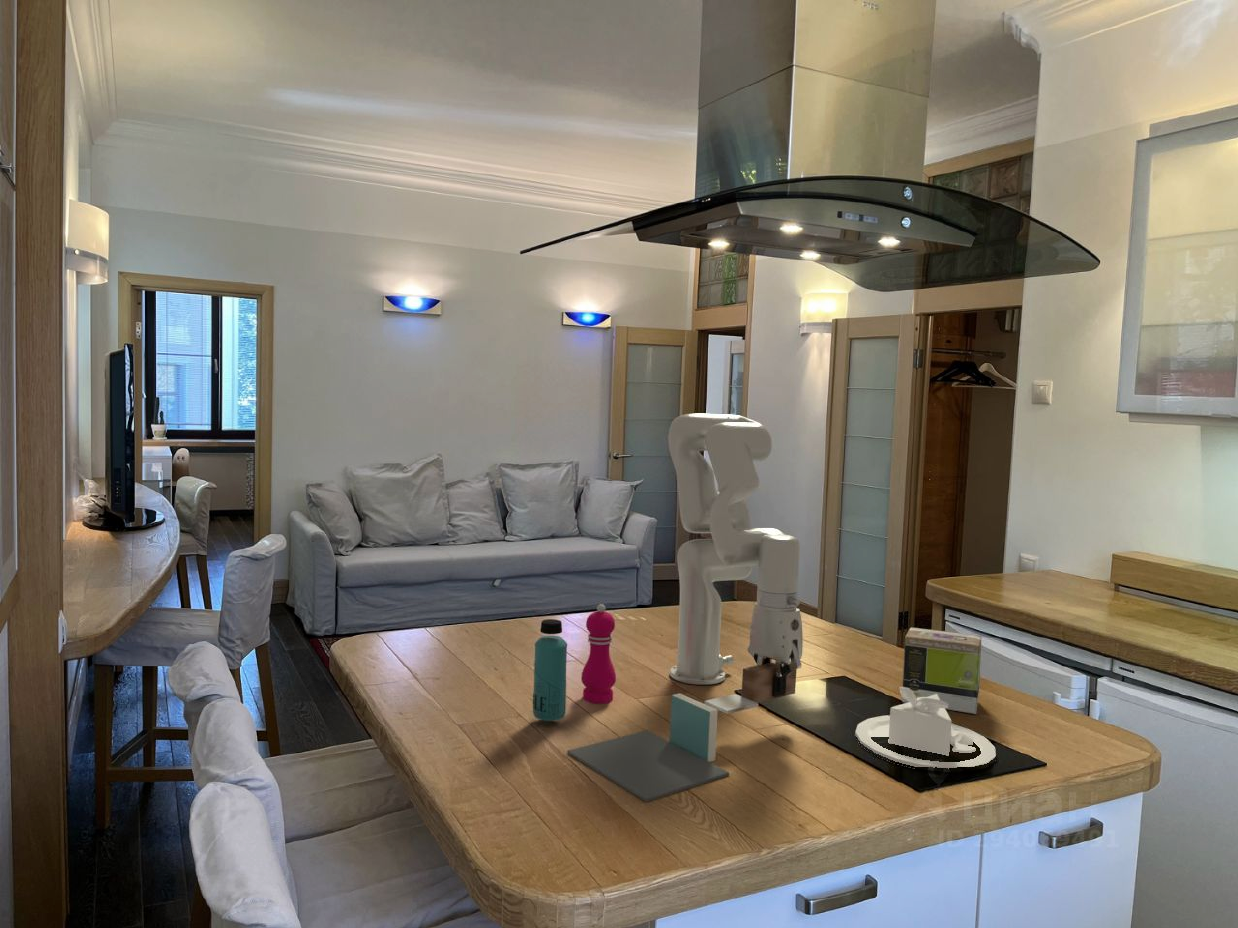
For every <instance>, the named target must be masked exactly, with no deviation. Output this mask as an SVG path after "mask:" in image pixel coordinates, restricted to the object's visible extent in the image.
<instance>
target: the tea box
mask: <svg viewBox="0 0 1238 928" xmlns="http://www.w3.org/2000/svg"><path fill="white" fill-rule="evenodd" d="M981 655H982V636H981V635H977V634H969V633H961V632H955V631H954V632H953V631H946V630H937V629H927V628H919V627H912V626H911V627H910V628H909V629H908V631H907V633H906V635H905V637H904V653H903V670H902V671H903V672H902V674H903V675H902V687H905V688H909V689H910V690H911V691H913V692H914V694H915V696H916V700H917V698H919V697H928V696H932V695H935V694H937V695H938V697H939V699H940V700H941V701H944V702H946V703H947V704H948V708H945V710H949V711H954V712H955V711H957V712H961V713H967V714H973V715H976V714H977V711H978V710H977V709H978V701H979V693H980V677H981ZM901 700H902V701H901V702H902V703H904V704H905V703H908V702H909V701H907V700H906V699H904V698H903V697H902V696H901Z"/></svg>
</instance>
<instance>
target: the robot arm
mask: <svg viewBox="0 0 1238 928" xmlns="http://www.w3.org/2000/svg"><path fill="white" fill-rule="evenodd" d="M667 441H668V450H669V453H670V456H671V457H670V458H671V460H672V463H673V465H674V466H673V467H674V469H675V473H676V481H677V490H678V491H677V493H678V505H679V516H680V517H679V518H680V521H681V525H682V528H683V529H684V530H685V531H686V532H688V533H690V534H691V533H692V534H710V535H711V538H696V539H691V540H688V541H686V542H684V543H682V544H681V545H680V546H679V548H678V550H677V557H676V560H677V570H678V577H679V578H678V581H679V613H678V614H679V615H678V631H677V632H678V636H677V657H676V658H677V660H676V663H677V664H676V665H674V666H672V667H670V669H669V675H670V677H671V678H672V679H674V680H675V681H677V682H681V683H685V684H690V685H698V686H699V685H700V686H701V685H703V686H705V685H716V684H719V683H722V682H723V681H724V680H725V679H726V672H725V670H723V667H724V666H726V665H731V664H733V663H734V662H735V661H734V660H735V659H734V657H733V655H731V654H730V655H726V656H722V655H721V654H720V646H721V645H720V644H721V625H722V624H721V623H722V607H723V606H722V604H723V603H722V599H721V596H720V594H719V592H718V591H717V589H716V588H715V586H714V584H713V583H714V582H720V581H723V582H724V581H739V580H740V581H741V580H744V579H746V578H748V577H749V576H750V575H751V573H752V571H753V568H754V567H758V570H757V573H758V574H757V589H756V591H757V592H756V594H757V595H756V602H755V603H754V606H753V609H752V616H751V622H750V630H749V644H748V647H747V653H748V654H749V655H750V656H751V657H752V658H753V659H754V662H755V663H756V666H757V665H762V664H767V663H772V661H773V660H774V662H775V674H776V676H773V690H772V696H773V697H779V696H783V695H785V694H786V678H787V675H789V674H790V672H792V671H793V670H795V669H797V670H798V669H801V668H802V662H801V661H802V660H801V659H802V657H803V646H804V645H803V643H804V642H803V640H804V639H803V622H802V614H801V610H800V608H797V607H798V606H799V605H800V604H801V600H800V599H799V598H798V586H799V585H798V583H799V566H800V565H799V563H800V547H801V545H800V542H799V539H798V538H797V537H796V536H792V535H789V534H785V533H784V532H782V531H781V530H779V529H778V528H773V527H751V518H750V517H751V516H750V510H749V507H748V504H747V502H746V500H745V499H746V498H747V499H748V498H749V497H750V496H751V495H753V494H754V493H755V492H756V491H757V490H758V488H759V486H760V478H759V474H758V473H757V470H756V466H755V464H754V462H762V461H765V460H767V459H768V458H769V457H770V454H771V451H772V447H773V444H772V439H771V434H770V433H769V430H768V429H767V427H765V426H764V425H763V424H762V423H760V422H758V421H756V420H753V419H750V418H747V417H745V416H742V415H738V414H719V413H718V414H717V413H685V414H682V415H678V416H677V417H675V418H674V419H673V420H672V422H671V424H670V427H669V430H668V440H667ZM700 452H707V454H708V457H709V461H710V463H711V464H710V463H709V461H708V460H707V459H706V458H705V457H704V456H703V455H702V454H701V453H700ZM715 480H716V483H717V484H716V485H717V487H718V490H719V491H718V490H717V488H716V485H715ZM790 661H791V663H790ZM782 664H783V667H782ZM783 697H784V696H783ZM779 698H780V697H779Z"/></svg>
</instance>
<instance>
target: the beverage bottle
mask: <svg viewBox="0 0 1238 928" xmlns="http://www.w3.org/2000/svg"><path fill="white" fill-rule="evenodd" d="M562 623H563V622H562V621H561V620H559V619H555V618H554V619H553V618H549V619H548V618H547V619H543V620H541V623H540V624H541V625H540V633H542V634H546V635H543V636H540V637H539V638H538V639H537V640H536V641H535V642H534V663H533V693H532V713H533V717H534V718H535V719H537V720H539V721H546V722H548V721H549V722H551V721H553V722H554V721H559V720H562V719H564V717H565V716H566V711H567V708H566V707H567V681H568V680H567V653H568V652H567V651H568V649H567V648H568V643H567V641H566V640H565V639H564V638H563V637H562V636H558V634H562V632H563V627H562V626H563V625H562Z"/></svg>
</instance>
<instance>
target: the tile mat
mask: <svg viewBox="0 0 1238 928" xmlns="http://www.w3.org/2000/svg"><path fill="white" fill-rule="evenodd" d="M567 754H568V755H569V756H571V757H572V758H574V759H576V760H578V761H579V762H581V763H582V764H584V765H585V766H587V767H589V768H591V770H594V771H595V772H597V773H599V775H602V776H603V777H605V778H606V779H608V780H609V781H611V782H613V783H614V784H616V785H618V786H620V787H621V788H623V790H626V791H627V792H628V793H630V794H632V795H633V796H635V797H637V798H638V799H640V800H642V801H644V802H645V803H647V802H651V801H653V800H657V799H659V798H663V797H666V796H670V795H673V794H676V793H679V792H681V791H685V790H688V789H690V788H694V787H698V786H701V785H703V784H707V783H710V782H713V781H716V780H719V779H722V778H725V777H728V776H730V772H729V771H727V770H725V769H723V768H722V767H720V766H717V765H716V764H713V763H711V761H710V762H708V761H706V760H704V759H702V758H700V757H698V756H696V755H694V754H692V753H691V752H689V751H687V750H685V749H683V748H681V747H679V746H677V745H675V744H673V743H671V742H670V740H667V739H665V738H663V737H662V736H659V735H657V734H655V733H653V732H651V731H649V730H648V729H646V730H642V731H639V732H635V733H630V734H627V735H623V736H620V737H615V738H612V739H607V740H602V741H601V742H600V741H599V742H596V743H591V744H588V745H584V746H580V747H576V748H572V749H568V750H567Z"/></svg>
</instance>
